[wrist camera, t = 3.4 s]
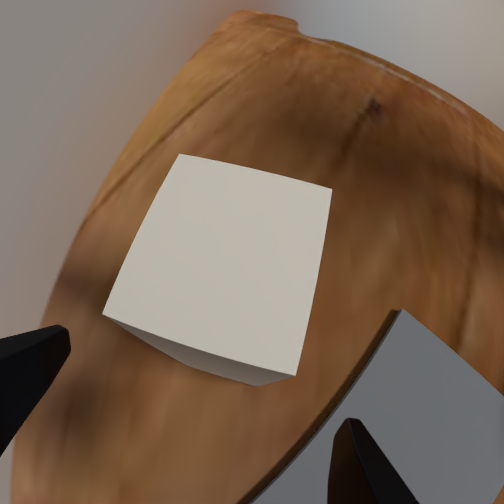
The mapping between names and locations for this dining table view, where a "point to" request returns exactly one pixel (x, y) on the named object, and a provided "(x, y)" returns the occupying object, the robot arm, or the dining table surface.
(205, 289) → the card box
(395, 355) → the mat
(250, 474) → the dining table surface
